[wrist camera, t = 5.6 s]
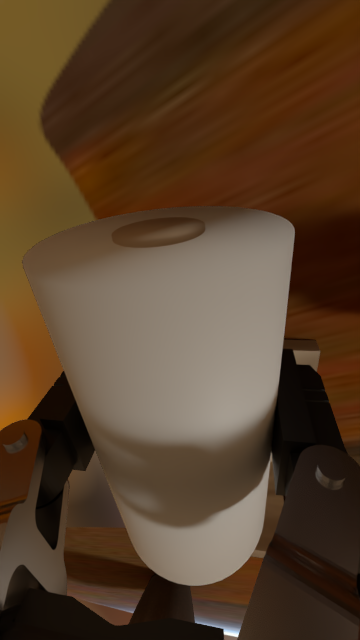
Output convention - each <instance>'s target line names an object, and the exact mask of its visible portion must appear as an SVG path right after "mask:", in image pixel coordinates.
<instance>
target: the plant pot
mask: <svg viewBox="0 0 360 640" xmlns="http://www.w3.org/2000/svg"><path fill="white" fill-rule="evenodd" d="M166 618H174V619H179V620H183V621H188V622H193V623H195V620H194V612H193V604H192V597H191V591H190V586H189V585H183V584H178V583H175V582H172V581H169V580H167V579H165V578H163V577H161V576H160V575H158V574H157V575H154V576H152V578H151V580H150V581H149V583H148V585H147V587H146V589H145V591H144V593H143V595H142V597H141V599H140V601H139V603H138V605H137V607H136V609H135V611H134V613H133V616H132V618H131V620H130V622H129V624H134V623H141V622H147V621H153V620H160V619H166Z"/></svg>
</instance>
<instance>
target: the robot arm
mask: <svg viewBox="0 0 360 640" xmlns="http://www.w3.org/2000/svg"><path fill="white" fill-rule="evenodd" d="M94 451H95V448H94V446H93V443H92V441H91V438H90V436H89V433H88V430H87V428H86V425H85V423H84V420H83V418H82V415H81V413H80V410H79V408H78V405H77V403H76V400H75V397H74V395H73V392H72V390H71V387H70V385H69V382H68V380H67V377H66V375H65V372H64V371H63V372H62V374H61V376H60V377H59V378H58V379H57V380H56V382H55V383H54V386H52V387H51V388H50V390H49V391H48V392H47V394H46V395H45V396H44V398H43V399H42V400H41V402H40V403H39V404H38V406H37V407H36V408H35V410H34V411H33V412H32V414H31V415H30V416H29V418H28V419H27V420H20V421H17V422H14V423H12V424H10V425H8V426H7V427H5V428H3V429H2V430H1V431H0V640H224V631H223V629H221V628H216V627H212V626H207V625H202V624H197V623H193V622H188V621H183V620H179V619H174V618H166V619H160V620H153V621H147V622H141V623H134V624H128V625H122V626H115V625H112V624H110V623H109V622H107V621H106V620H105V619H103V618H102V617H100V616H99V615H97V614H96V613H95V612H93V611H91V610H90V609H89V608H87V607H86V606H85V605H83V604H82V603H80V602H79V601H77V600H76V599H75V598H73V597H70V596H67V575H66V569H65V564H64V541H65V530H66V520H67V510H68V499H69V487H70V486H69V481H68V477H69V475H70V473H71V471H72V470H81V471H86V468H87V466H88V464H89V462H90V460H91V458H92V455H93V453H94ZM271 453H272V463H273V473H274V483H275V493H276V495H282V496H286V499H285V502H284V505H283V508H282V511H281V514H280V517H279V520H278V524H277V527H276V530H275V533H274V536H273V538H272V541H271V542H270V543H269V545H268V548H267V551H266V553H265V556H264V559H263V562H262V565H261V568H260V571H259V574H258V577H257V580H256V583H255V587H254V590H253V593H252V596H251V599H250V602H249V605H248V608H247V611H246V614H245V617H244V620H243V623H242V627H241V630H240V633H239V636H238V639H237V640H358V632H359V620H360V598H359V594H358V593H357V573H359V574H360V466H359V465H358V463H357V462H356V461H355V460H354V459H353V458H352V457H350V456H349V455H348V453H347V452H346V449H345V447H344V444H343V441H342V438H341V435H340V432H339V429H338V426H337V423H336V421H335V418H334V415H333V412H332V409H331V406H330V403H329V400H328V397H327V394H326V392H325V388H324V385H323V382H322V379H321V376H320V375H319V374H318V373H317V372H316V371H315V370H314V369H313V368H312V367H311V366H310V365H300V364H296V360H295V356H294V352H293V349H282V358H281V368H280V377H279V386H278V396H277V404H276V413H275V422H274V432H273V441H272V450H271Z"/></svg>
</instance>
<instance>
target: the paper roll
mask: <svg viewBox="0 0 360 640" xmlns="http://www.w3.org/2000/svg"><path fill="white" fill-rule="evenodd" d="M294 237H295V229H294V227H293V225H292V224H291V223H290V222H289V221H288V220H286V219H285V218H283V217H281V216H278V215H275V214H273V213H269V212H265V211H260V210H255V209H248V208H239V207H223V206H196V207H178V208H166V209H157V210H149V211H142V212H135V213H129V214H124V215H118V216H113V217H109V218H105V219H100V220H96V221H92V222H89V223H85V224H82V225H79V226H76V227H73V228H70V229H67V230H64V231H62V232H59V233H57V234H55V235H52V236H50V237H48V238H46V239H44V240H42V241H41V242H39V243H38V244H36V245H35V246H33V247H32V248H31V249H30V250H29V251H28V252H27V253H26V254H25V256H24V258H23V261H22V263H23V268H24V270H25V273H26V276H27V278H28V281H29V283H30V286H31V288H32V291H33V293H34V296H35V298H36V301H37V303H38V306H39V308H40V311H41V313H42V316H43V319H44V321H45V323H46V326H47V329H48V331H49V334H50V337H51V339H52V342H53V344H54V347H55V349H56V352H57V354H58V357H59V359H60V362H61V364H62V367H63V370H64V372H65V375H66V377H67V380H68V382H69V385H70V387H71V390H72V392H73V395H74V397H75V400H76V403H77V405H78V408H79V410H80V413H81V415H82V418H83V420H84V423H85V425H86V428H87V430H88V433H89V436H90V438H91V441H92V443H93V446H94V448H95V451H96V453H97V456H98V458H99V461H100V464H101V466H102V469H103V471H104V474H105V476H106V479H107V481H108V484H109V486H110V489H111V491H112V494H113V496H114V499H115V501H116V504H117V507H118V509H119V512H120V514H121V517H122V519H123V522H124V524H125V527H126V530H127V532H128V535H129V537H130V540H131V542H132V544H133V546H134V548H135V550H136V552H137V553H138V555H139V556H140V558H141V559H142V560H143V562H144V563H145V564H146V565H147V566H148V567H149V568H150V569H152V570H153V571H154V572H155V573H157V574H158V575H160V576H161V577H163V578H165V579H167V580H169V581H172V582H175V583H178V584H183V585H194V586H200V585H206V584H211V583H214V582H217V581H220V580H222V579H224V578H226V577H228V576H230V575H232V574H233V573H234V572H235V571H237V570H238V569H239V568H240V567H241V566H242V565H243V564H244V563H245V562H246V561H247V560H248V559H249V557H250V556H251V554H252V553H253V552H254V550H255V548H256V546H257V544H258V542H259V539H260V536H261V533H262V529H263V524H264V517H265V507H266V498H267V489H268V479H269V470H270V461H271V450H272V441H273V432H274V422H275V413H276V404H277V396H278V386H279V377H280V368H281V358H282V349H283V340H284V330H285V321H286V312H287V303H288V293H289V284H290V275H291V265H292V256H293V247H294Z"/></svg>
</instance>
